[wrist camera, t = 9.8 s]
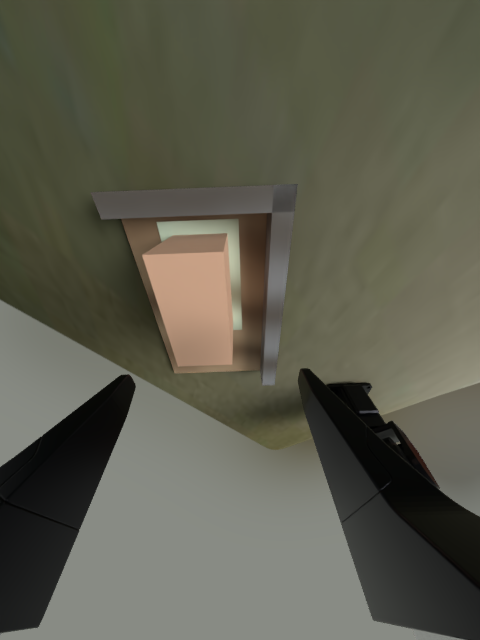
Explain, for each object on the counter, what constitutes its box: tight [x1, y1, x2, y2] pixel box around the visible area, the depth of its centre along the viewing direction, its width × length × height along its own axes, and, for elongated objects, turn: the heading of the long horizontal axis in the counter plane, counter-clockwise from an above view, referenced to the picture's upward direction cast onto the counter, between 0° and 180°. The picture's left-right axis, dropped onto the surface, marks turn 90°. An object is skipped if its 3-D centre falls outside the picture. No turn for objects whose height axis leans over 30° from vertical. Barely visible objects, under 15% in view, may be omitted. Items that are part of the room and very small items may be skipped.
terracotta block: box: [142, 233, 233, 367], centre depth 15 cm, size 4×9×6 cm, turn 2°
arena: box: [91, 184, 298, 385], centre depth 18 cm, size 20×13×3 cm, turn 2°
